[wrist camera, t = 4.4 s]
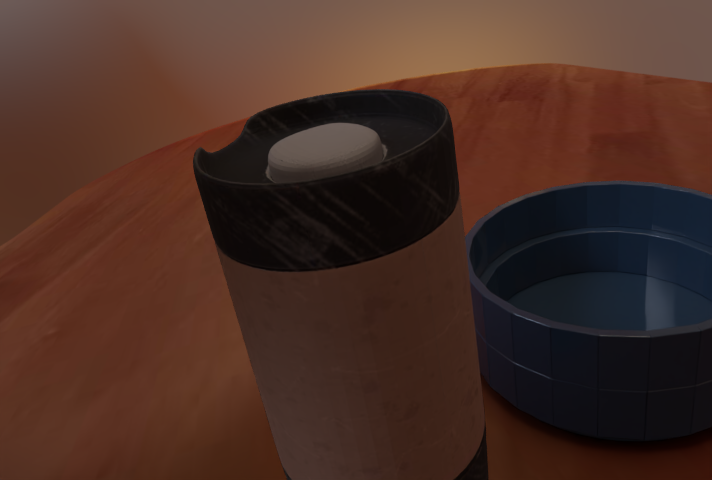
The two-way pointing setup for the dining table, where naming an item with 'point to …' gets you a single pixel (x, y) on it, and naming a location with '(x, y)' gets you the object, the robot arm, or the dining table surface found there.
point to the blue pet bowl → (598, 307)
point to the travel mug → (353, 284)
